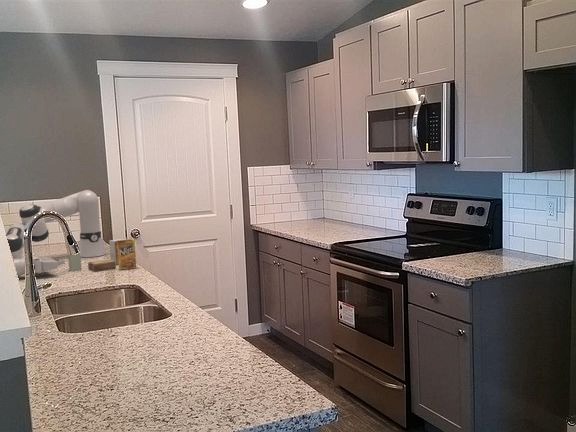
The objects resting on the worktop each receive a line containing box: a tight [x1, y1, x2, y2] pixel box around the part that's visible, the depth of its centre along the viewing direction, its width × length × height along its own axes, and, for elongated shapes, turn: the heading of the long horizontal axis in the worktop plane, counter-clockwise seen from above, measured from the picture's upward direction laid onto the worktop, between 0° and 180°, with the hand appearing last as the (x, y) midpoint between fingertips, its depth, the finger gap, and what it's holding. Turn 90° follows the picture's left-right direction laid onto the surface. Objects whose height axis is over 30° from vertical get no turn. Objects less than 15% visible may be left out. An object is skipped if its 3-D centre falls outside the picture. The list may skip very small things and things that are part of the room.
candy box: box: [117, 238, 137, 271], centre depth 306 cm, size 9×4×15 cm, turn 107°
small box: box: [108, 238, 123, 266], centre depth 323 cm, size 8×6×13 cm
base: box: [87, 258, 117, 273], centre depth 309 cm, size 10×11×4 cm
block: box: [67, 247, 82, 272], centre depth 309 cm, size 5×5×12 cm
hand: (61, 260), depth 305 cm, fingers open, 8 cm apart
